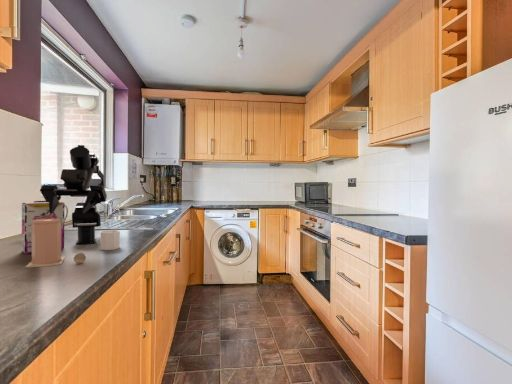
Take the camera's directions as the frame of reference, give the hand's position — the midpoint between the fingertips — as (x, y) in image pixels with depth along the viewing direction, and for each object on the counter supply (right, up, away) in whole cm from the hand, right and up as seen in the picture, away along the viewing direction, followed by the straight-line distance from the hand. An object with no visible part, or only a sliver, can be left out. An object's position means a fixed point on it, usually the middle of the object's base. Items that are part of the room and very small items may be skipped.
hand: (66, 212), depth 91 cm
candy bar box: (-12, -13, +6) cm, 19 cm away
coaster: (0, -14, -8) cm, 16 cm away
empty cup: (+8, -13, +11) cm, 19 cm away
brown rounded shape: (0, -13, -8) cm, 16 cm away
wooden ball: (+10, -14, -9) cm, 19 cm away
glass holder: (-27, -13, +31) cm, 43 cm away
